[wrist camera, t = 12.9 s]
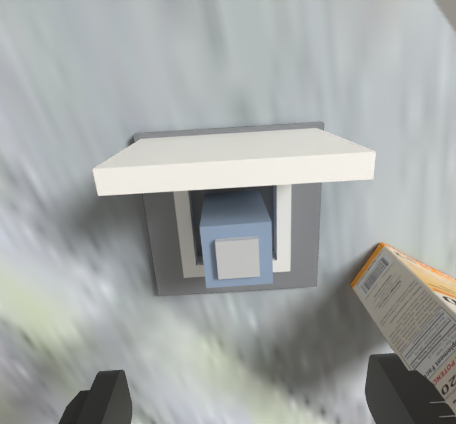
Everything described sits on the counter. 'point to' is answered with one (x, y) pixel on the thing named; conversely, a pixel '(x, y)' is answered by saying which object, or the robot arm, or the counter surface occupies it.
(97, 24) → the counter surface
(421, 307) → the supplement box
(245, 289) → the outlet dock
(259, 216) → the block
